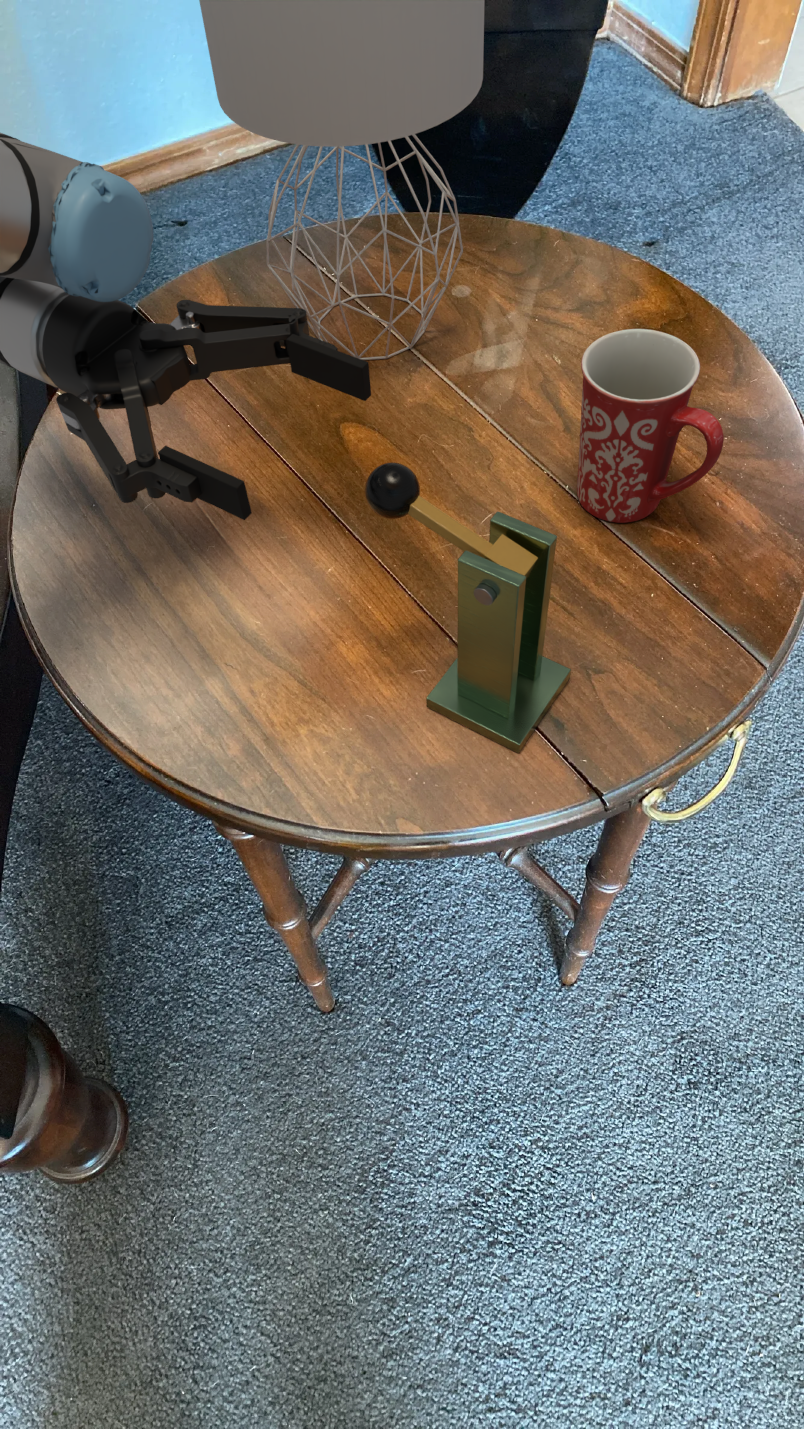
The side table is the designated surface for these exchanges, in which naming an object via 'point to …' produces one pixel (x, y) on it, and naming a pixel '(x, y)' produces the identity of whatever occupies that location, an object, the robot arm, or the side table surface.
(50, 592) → the side table surface
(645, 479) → the mug
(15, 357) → the robot arm
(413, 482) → the switch lever
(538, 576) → the switch bracket
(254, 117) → the table lamp
